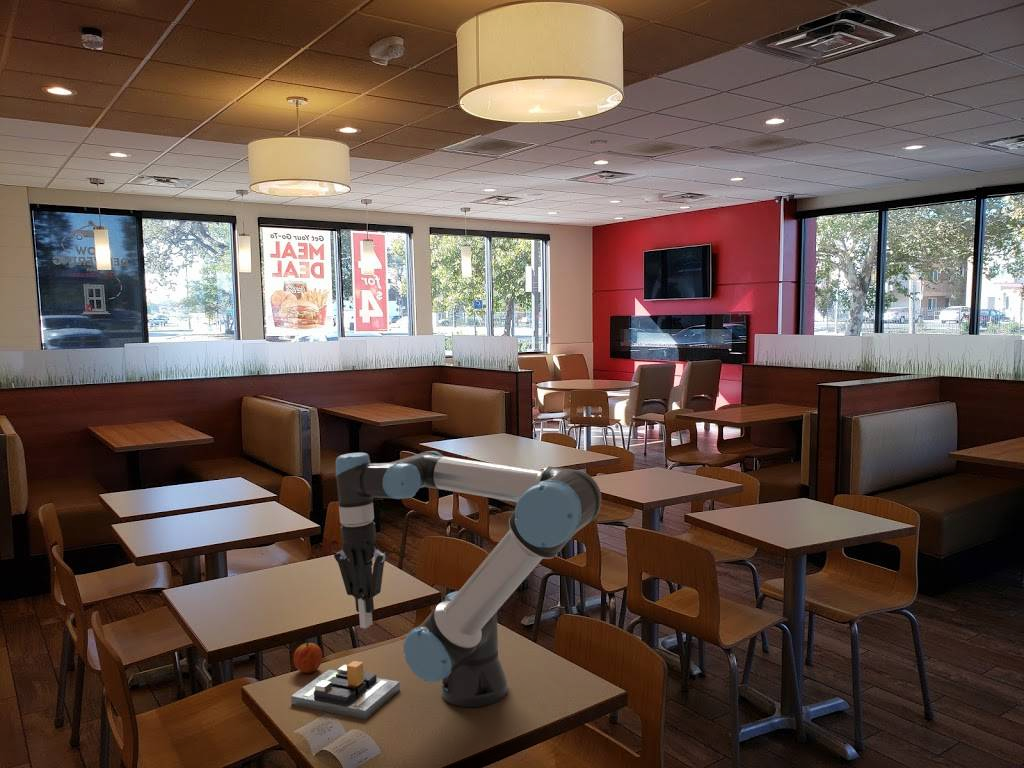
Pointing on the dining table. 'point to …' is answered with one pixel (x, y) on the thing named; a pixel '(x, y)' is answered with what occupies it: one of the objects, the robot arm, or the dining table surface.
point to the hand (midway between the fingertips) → (366, 625)
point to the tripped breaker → (355, 673)
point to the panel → (346, 707)
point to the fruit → (307, 657)
